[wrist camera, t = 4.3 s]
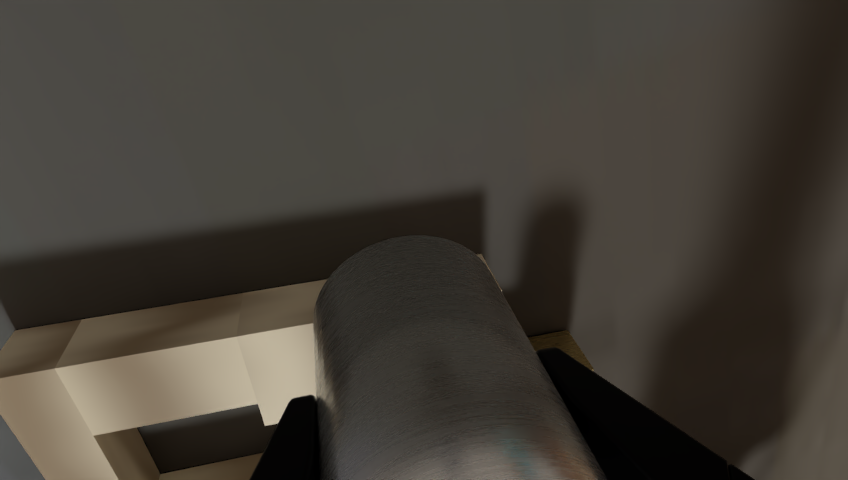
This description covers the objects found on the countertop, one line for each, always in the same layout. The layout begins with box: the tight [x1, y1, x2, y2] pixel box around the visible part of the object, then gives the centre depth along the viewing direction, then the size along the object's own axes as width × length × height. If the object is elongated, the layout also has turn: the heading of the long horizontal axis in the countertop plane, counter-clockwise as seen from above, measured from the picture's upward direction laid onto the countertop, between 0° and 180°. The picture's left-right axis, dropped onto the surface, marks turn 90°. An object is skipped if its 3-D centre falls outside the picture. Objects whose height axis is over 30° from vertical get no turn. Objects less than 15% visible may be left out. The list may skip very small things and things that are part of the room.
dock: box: [0, 254, 502, 480], centre depth 22 cm, size 17×12×2 cm
